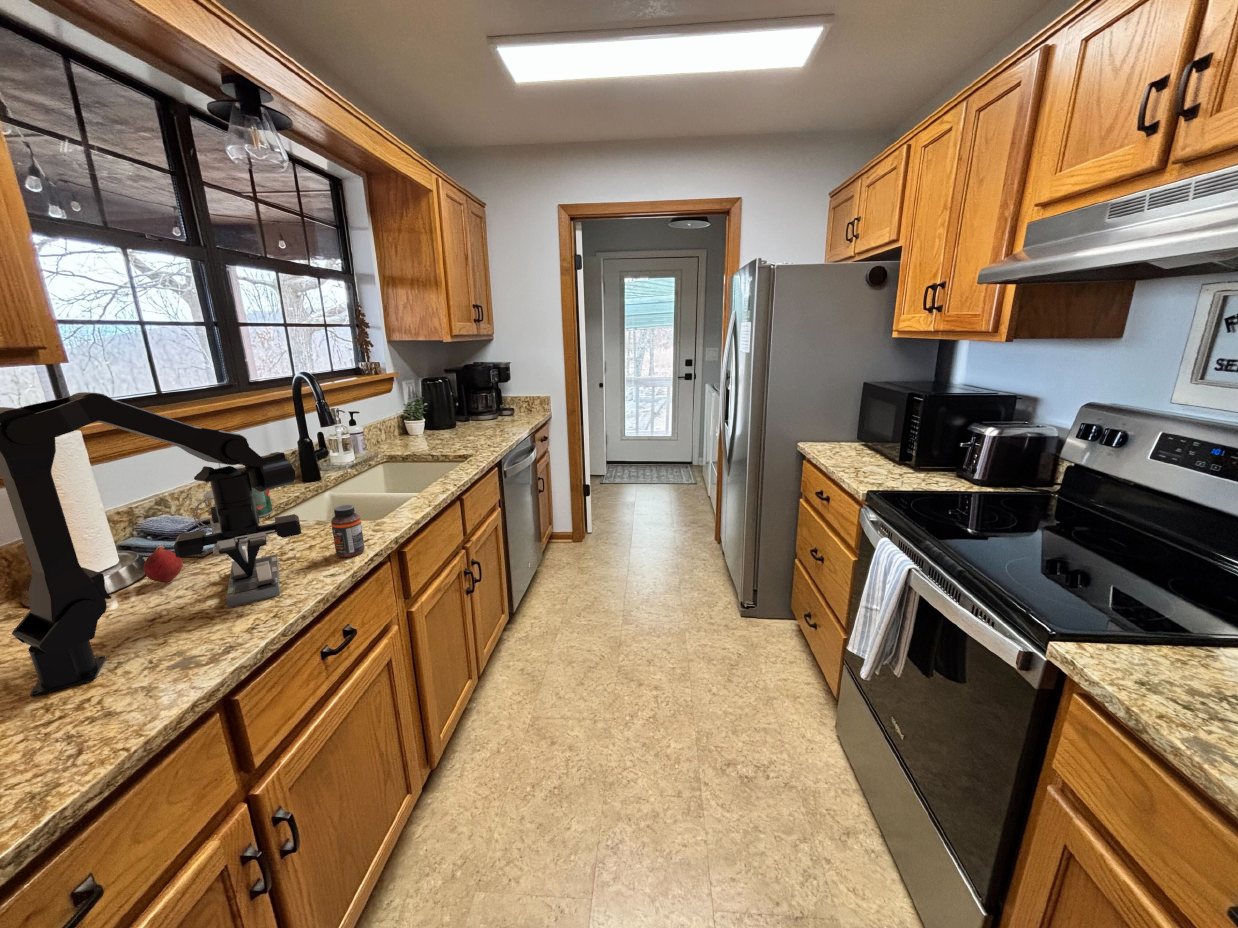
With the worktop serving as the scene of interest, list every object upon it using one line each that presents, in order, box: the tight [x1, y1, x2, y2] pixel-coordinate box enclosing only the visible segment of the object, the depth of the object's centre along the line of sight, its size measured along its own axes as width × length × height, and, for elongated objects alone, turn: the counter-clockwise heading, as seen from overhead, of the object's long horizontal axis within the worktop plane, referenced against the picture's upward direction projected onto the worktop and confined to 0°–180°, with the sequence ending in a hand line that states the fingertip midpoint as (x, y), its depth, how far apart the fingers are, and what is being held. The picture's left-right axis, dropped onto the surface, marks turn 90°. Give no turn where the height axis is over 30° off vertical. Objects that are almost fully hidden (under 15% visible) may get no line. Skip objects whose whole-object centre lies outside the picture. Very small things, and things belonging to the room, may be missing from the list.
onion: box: [143, 545, 184, 584], centre depth 101 cm, size 6×6×8 cm
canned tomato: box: [252, 488, 274, 518], centre depth 141 cm, size 8×8×11 cm
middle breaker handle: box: [230, 558, 247, 580], centre depth 99 cm, size 3×3×4 cm
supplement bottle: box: [330, 504, 365, 559], centre depth 114 cm, size 6×6×11 cm
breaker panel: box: [226, 553, 281, 609], centre depth 101 cm, size 18×8×2 cm, turn 35°
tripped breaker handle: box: [256, 561, 275, 586], centre depth 96 cm, size 3×3×4 cm
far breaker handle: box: [242, 546, 248, 562], centre depth 104 cm, size 3×3×4 cm
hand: (250, 575), depth 95 cm, fingers closed
